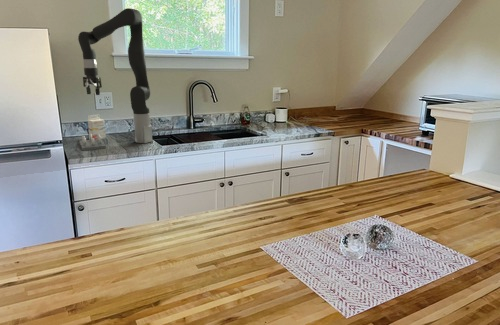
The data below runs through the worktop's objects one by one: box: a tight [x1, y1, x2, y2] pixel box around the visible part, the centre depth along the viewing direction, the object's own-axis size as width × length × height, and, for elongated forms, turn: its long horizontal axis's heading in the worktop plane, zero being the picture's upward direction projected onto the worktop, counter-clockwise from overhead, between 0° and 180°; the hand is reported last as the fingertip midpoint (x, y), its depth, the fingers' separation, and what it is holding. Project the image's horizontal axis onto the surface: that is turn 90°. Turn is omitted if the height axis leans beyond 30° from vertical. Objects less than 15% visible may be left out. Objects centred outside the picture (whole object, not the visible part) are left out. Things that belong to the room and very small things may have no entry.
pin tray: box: [79, 133, 107, 151], centre depth 223 cm, size 20×12×6 cm, turn 27°
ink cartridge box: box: [87, 113, 107, 140], centre depth 240 cm, size 9×5×15 cm, turn 141°
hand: (93, 94), depth 235 cm, fingers open, 8 cm apart
